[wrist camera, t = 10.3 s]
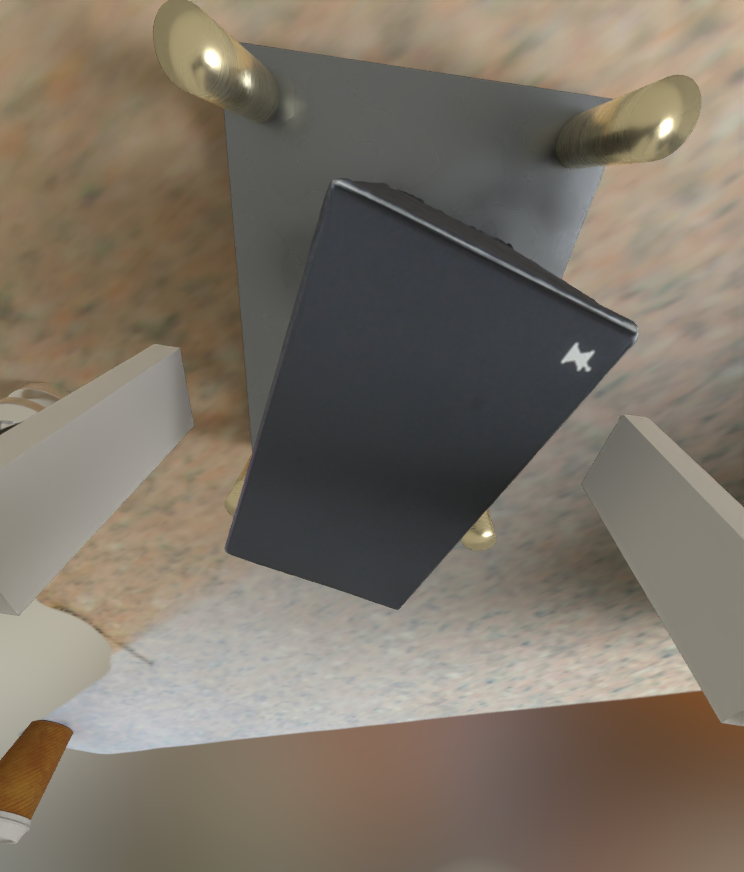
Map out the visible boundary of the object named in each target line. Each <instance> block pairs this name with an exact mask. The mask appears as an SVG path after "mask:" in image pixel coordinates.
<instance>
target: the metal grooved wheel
mask: <svg viewBox="0 0 744 872" xmlns="http://www.w3.org/2000/svg"><path fill="white" fill-rule="evenodd" d="M70 393H71V392H69V391H67V390H65V389H63V388H61V387H59V386H56V385H53V384H49V383H42V382H35V383H30V384H27V385H25V386H23V387H21V388H19V389H17V390H15V391H13V392H12V393H11V394H10V395H9V396H8V397H5V398H1V399H0V429H3V428H6V427H9V426H11V425H14V424H17V423H20V422H22V421H25V420H26V419H28V418H30V417H31V416H33V415H35V414H37V413H38V412H40V411H42V410H43V409H45V408H47V407H48V406H50V405H52V404H53V403H55V402H57V401H59V400H60V399H62V398H64V397H65V396H67V395H69V394H70Z"/></svg>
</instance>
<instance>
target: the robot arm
mask: <svg viewBox="0 0 744 872" xmlns="http://www.w3.org/2000/svg"><path fill="white" fill-rule="evenodd" d="M193 427H194V422H193V417H192V411H191V406H190V400H189V395H188V389H187V384H186V379H185V373H184V368H183V362H182V357H181V351H180V348H178V347H172V346H165V345H158V344H153V345H152V346H150V347H148V348H146V349H145V350H143V351H141V352H140V353H138V354H136V355H135V356H133V357H131V358H130V359H128V360H126V361H124V362H123V363H121V364H119V365H118V366H116V367H114V368H113V369H111V370H109V371H108V372H106V373H104V374H102V375H101V376H99V377H97V378H96V379H94V380H92V381H91V382H89V383H87V384H86V385H84V386H82V387H81V388H79V389H77V390H75V391H74V392H72V393H70V394H69V395H67V396H65V397H64V398H62V399H60V400H59V401H57V402H55V403H53V404H52V405H50V406H48V407H47V408H45V409H43V410H42V411H40V412H38V413H37V414H35V415H33V416H31V417H30V418H28V419H26V420H25V421H22V422H20V423H17V424H14V425H11V426H9V427H6V428H3V429H0V613H3V614H10V615H17V616H19V615H20V614H21V613H22V612H23V611H24V610H25V609H26V607H27V606H28V605H29V604H30V603H31V602H32V601H33V600H34V599H35V598H36V597H37V596H38V595H39V593H40V592H41V591H42V590H43V589H44V588H45V587H46V586H47V585H48V584H49V583H50V582H51V580H52V579H53V578H54V577H55V576H56V575H57V574H58V573H59V572H60V571H61V570H62V569H63V567H64V566H65V565H66V564H67V563H68V562H69V561H70V560H71V559H72V558H73V557H74V556H75V554H76V553H77V552H78V551H79V550H80V549H81V548H82V547H83V546H84V545H85V544H86V543H87V541H88V540H89V539H90V538H91V537H92V536H93V535H94V534H95V533H96V532H97V531H98V530H99V529H100V527H101V526H102V525H103V524H104V523H105V522H106V521H107V520H108V519H109V518H110V517H111V516H112V514H113V513H114V512H115V511H116V510H117V509H118V508H119V507H120V506H121V505H122V504H123V503H124V501H125V500H126V499H127V498H128V497H129V496H130V495H131V494H132V493H133V492H134V491H135V490H136V488H137V487H138V486H139V485H140V484H141V483H142V482H143V481H144V480H145V479H146V478H147V477H148V475H149V474H150V473H151V472H152V471H153V470H154V469H155V468H156V467H157V466H158V465H159V464H160V463H161V461H162V460H163V459H164V458H165V457H166V456H167V455H168V454H169V453H170V452H171V451H172V450H173V448H174V447H175V446H176V445H177V444H178V443H179V442H180V441H181V440H182V439H183V438H184V437H185V435H186V434H187V433H188V432H189V431H190V430H191V429H192V428H193ZM581 485H582V487H583V488H584V490H585V492H586V493H587V495H588V497H589V499H590V500H591V502H592V504H593V505H594V507H595V509H596V510H597V512H598V514H599V516H600V517H601V519H602V521H603V522H604V524H605V526H606V527H607V529H608V531H609V533H610V534H611V536H612V538H613V539H614V541H615V543H616V545H617V546H618V548H619V550H620V551H621V553H622V555H623V556H624V558H625V560H626V562H627V563H628V565H629V567H630V568H631V570H632V572H633V573H634V575H635V577H636V579H637V580H638V582H639V584H640V585H641V587H642V589H643V590H644V592H645V594H646V596H647V597H648V599H649V601H650V602H651V604H652V606H653V608H654V609H655V611H656V613H657V614H658V616H659V618H660V619H661V621H662V623H663V625H664V626H665V628H666V630H667V631H668V633H669V635H670V636H671V638H672V640H673V642H674V643H675V645H676V647H677V648H678V650H679V652H680V653H681V655H682V657H683V659H684V660H685V662H686V664H687V665H688V667H689V669H690V671H691V672H692V674H693V676H694V677H695V679H696V681H697V682H698V684H699V686H700V688H701V689H702V691H703V693H704V694H705V696H706V697H707V699H708V701H709V703H710V705H711V706H712V708H713V710H714V711H715V713H716V715H717V716H718V718H719V720H720V722H721V723H726V724H733V725H740V726H744V507H743V506H742V505H741V504H740V503H739V502H738V501H736V500H735V499H734V498H733V497H732V496H731V495H730V494H729V493H728V492H727V491H726V490H725V489H724V488H723V487H722V486H721V485H719V484H718V483H717V482H716V481H715V480H714V479H713V478H712V477H711V476H710V475H709V474H708V473H707V472H706V471H705V470H704V469H702V468H701V467H700V466H699V465H698V464H697V463H696V462H695V461H694V460H693V459H692V458H691V457H690V456H689V455H688V454H687V453H686V452H684V451H683V450H682V449H681V448H680V447H679V446H678V445H677V444H676V443H675V442H674V441H673V440H672V439H671V438H670V437H669V436H667V435H666V434H665V433H664V432H663V431H662V430H661V429H660V428H659V427H658V426H657V425H656V424H655V423H654V422H653V421H652V420H651V419H649V418H648V417H641V416H634V415H627V414H622V416H621V417H620V419H619V421H618V422H617V424H616V426H615V427H614V429H613V431H612V433H611V434H610V436H609V438H608V439H607V441H606V443H605V444H604V446H603V448H602V449H601V451H600V453H599V455H598V456H597V458H596V460H595V461H594V463H593V465H592V466H591V468H590V470H589V471H588V473H587V475H586V477H585V478H584V480H583V482H582V483H581Z"/></svg>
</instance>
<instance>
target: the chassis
mask: <svg viewBox="0 0 744 872" xmlns="http://www.w3.org/2000/svg"><path fill="white" fill-rule="evenodd" d="M153 40H154V47H155V51H156V55H157V58H158V60H159V63H160V65H161V67H162V69H163V70H164V72H165V74H166V75H167V76H168V78H169V79H170V80H171V81H172V82H173V83H174V84H175V85H176V86H177V87H179V88H180V89H182V90H183V91H185V92H188V93H190V94H192V95H194V96H197V97H199V98H201V99H203V100H206V101H208V102H210V103H212V104H215V105H217V106H219V107H222V108H224V118H225V130H226V142H227V154H228V166H229V178H230V190H231V202H232V214H233V226H234V238H235V250H236V262H237V274H238V286H239V298H240V310H241V322H242V334H243V346H244V358H245V370H246V382H247V395H248V407H249V419H250V431H251V443H252V453H253V449H254V446H255V442H256V439H257V435H258V432H259V428H260V425H261V421H262V418H263V414H264V411H265V407H266V404H267V400H268V397H269V393H270V390H271V386H272V382H273V379H274V375H275V372H276V368H277V365H278V361H279V358H280V354H281V350H282V347H283V343H284V340H285V336H286V333H287V329H288V325H289V322H290V318H291V315H292V311H293V308H294V304H295V301H296V297H297V294H298V290H299V287H300V283H301V280H302V276H303V273H304V269H305V266H306V262H307V258H308V254H309V251H310V247H311V243H312V240H313V237H314V233H315V230H316V227H317V223H318V219H319V215H320V211H321V208H322V204H323V201H324V198H325V194H326V192H327V189H328V187H329V184H330V182H331V181H332V180H335V179H339V178H347V179H350V180H351V181H365V182H371V183H385V184H387V185H389V186H391V187H393V188H395V189H399V190H401V191H404V192H407V193H408V194H411V195H414V196H415V197H417V198H420V199H422V200H423V201H424V203H425V204H427V205H429V206H431V207H432V208H435V209H437V210H441V211H442V212H443V213H444V214H446V215H448V216H450V217H452V218H454V219H456V220H459V221H461V222H462V223H464V224H466V225H468V226H473V227H475V228H476V229H477V230H481V231H483V232H484V234H485V235H487V236H489V237H491V238H497V239H501V240H503V241H504V242H505V243H506V244H507V243H510V244H511V245H512V246H513V249H514V250H515V251H516V252H518V253H520V254H522V255H523V256H525V257H527V258H528V259H530V260H532V261H534V262H535V263H537V264H538V265H540V266H541V267H543V268H544V269H546V270H548V271H549V272H551V273H552V274H554V275H555V276H557V277H559V278H560V279H562V276H563V273H564V271H565V268H566V266H567V263H568V261H569V258H570V255H571V253H572V250H573V248H574V245H575V243H576V240H577V238H578V235H579V232H580V230H581V227H582V225H583V222H584V220H585V217H586V215H587V212H588V209H589V207H590V204H591V202H592V199H593V197H594V194H595V191H596V189H597V186H598V184H599V181H600V179H601V176H602V174H603V171H604V168H605V166H611V165H621V164H631V163H640V162H650V161H656V160H660V159H662V158H664V157H666V156H668V155H670V154H671V153H673V152H674V151H675V150H677V149H678V148H679V147H680V146H681V145H682V144H683V143H684V142H685V140H686V139H687V138H688V136H689V135H690V133H691V132H692V130H693V128H694V126H695V124H696V122H697V120H698V117H699V113H700V109H701V94H700V90H699V87H698V86H697V84H696V83H695V81H694V80H692V79H691V78H689V77H687V76H684V75H673V76H670V77H667V78H664V79H662V80H659V81H657V82H655V83H652V84H650V85H647V86H645V87H642V88H640V89H638V90H635V91H633V92H630V93H628V94H625V95H623V96H621V97H618V98H616V99H610V98H603V97H597V96H590V95H583V94H577V93H570V92H564V91H557V90H550V89H544V88H537V87H531V86H524V85H517V84H511V83H504V82H498V81H491V80H484V79H478V78H471V77H465V76H458V75H451V74H445V73H438V72H432V71H425V70H418V69H412V68H405V67H399V66H392V65H386V64H379V63H372V62H366V61H359V60H353V59H346V58H339V57H333V56H326V55H320V54H313V53H306V52H300V51H293V50H287V49H280V48H273V47H267V46H260V45H254V44H247V43H240V42H237V41H236V40H235V39H234V38H233V37H232V36H230V35H229V34H228V33H227V32H226V31H225V30H224V29H223V28H221V27H220V26H219V25H218V24H217V23H216V22H215V21H214V20H212V19H211V18H210V17H209V16H208V15H207V14H206V13H205V12H203V11H202V10H201V9H200V8H199V7H198V6H196V5H195V4H194V3H192V2H190V1H188V0H169V1H167V2H165V3H164V4H163V5H162V6H161V8H160V9H159V10H158V12H157V15H156V17H155V21H154V27H153ZM251 456H252V455H251ZM251 456H250V458H249V460H248V462H247V464H246V465H245V467H244V469H243V471H242V473H241V474H240V476H239V478H238V480H237V481H236V483H235V485H234V487H233V489H232V490H231V492H230V494H229V496H228V498H227V499H226V501H225V508H226V510H227V512H228V513H229V514H231V515H232V516H234V515H235V511H236V508H237V504H238V501H239V498H240V494H241V491H242V487H243V484H244V480H245V477H246V474H247V470H248V467H249V463H250V460H251ZM462 542H463V544H464V546H465V547H466V548H468V549H470V550H474V551H482V550H486V549H489V548H490V547H492V546H493V545H494V544H495V542H496V535H495V531H494V528H493V524H492V520H491V516H490V513H489V509H487V510H486V511H485V513H484V514H483V515H482V516H481V517H480V518H479V519H478V521H477V522H476V523H475V524H474V525H473V526H472V527H471V528H470V529H469V531H468V532H467V533H466V534H465V535H464V536H463V538H462Z"/></svg>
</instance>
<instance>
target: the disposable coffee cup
mask: <svg viewBox="0 0 744 872" xmlns="http://www.w3.org/2000/svg"><path fill="white" fill-rule="evenodd" d="M72 734H73V732H72V730H71V729H69V728H68V727H66V726H64V725H61V724H58V723H55V722H50V721H43V720H37V721H33V722H31V724H30V725H29V726H28V727H27V729H26V730H25V731H24V732H23V733H22V735H21V736H20V737H19V738H18V739H17V741H16V742H15V743H14V745H13V746H12V747H11V748H10V749H9V750H8V752H7V753H6V754H5V755H4V757H3V758H2V759H1V760H0V843H4V844H16V843H17V842H18V841H19V839H20V838H21V837H22V836H23V834H24V833H25V832H26V831H28V830H29V825H30V823H31V818H32V816H33V814H34V812H35V810H36V808H37V806H38V804H39V802H40V800H41V798H42V796H43V794H44V792H45V789H46V787H47V785H48V783H49V781H50V779H51V777H52V775H53V773H54V771H55V769H56V767H57V765H58V762H59V761H60V759H61V756H62V755H63V752H64V750H65V748H66V746H67V744H68V742H69V740H70V738H71V736H72Z"/></svg>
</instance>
